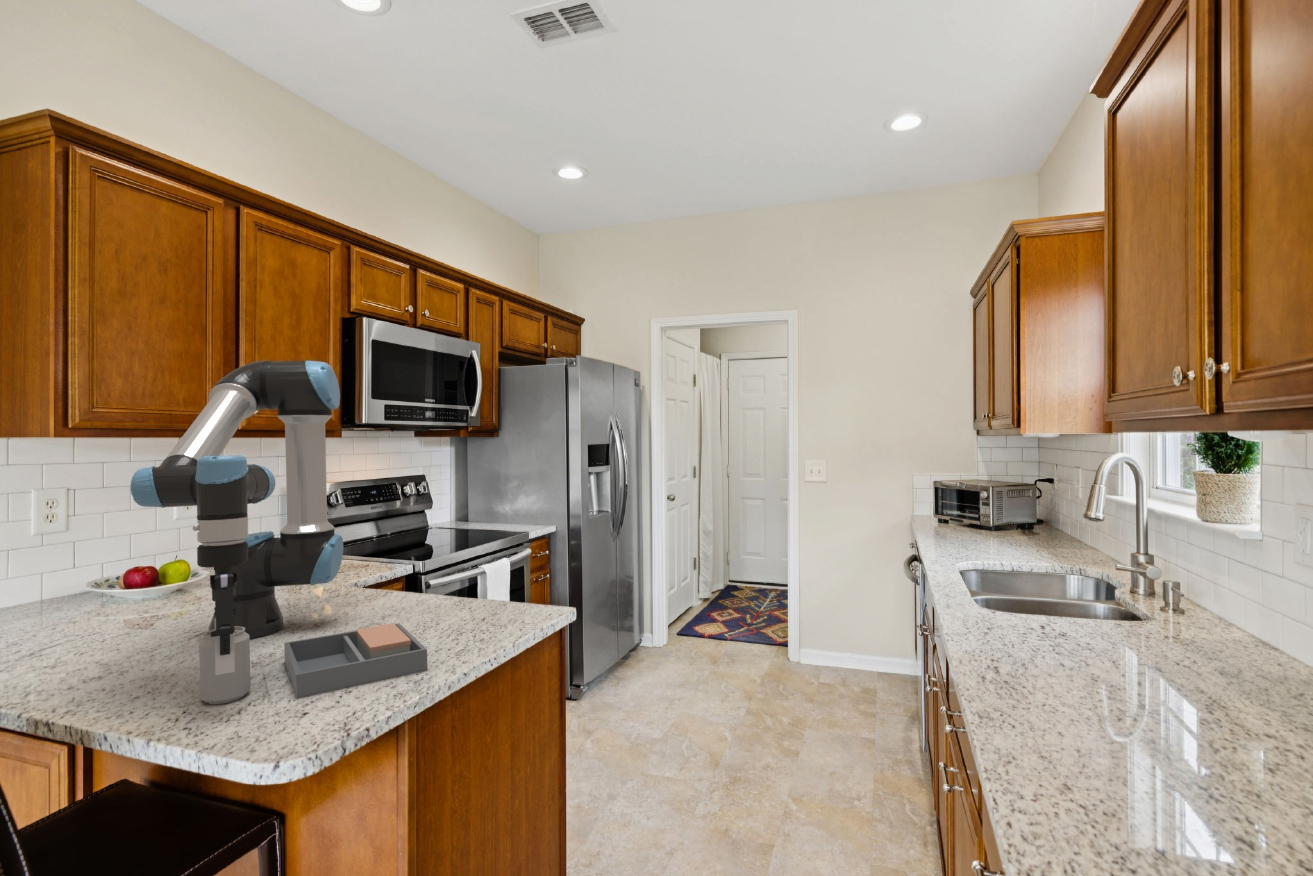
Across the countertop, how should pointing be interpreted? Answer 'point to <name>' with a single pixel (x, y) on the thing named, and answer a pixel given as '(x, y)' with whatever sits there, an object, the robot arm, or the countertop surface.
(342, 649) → the tray
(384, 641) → the two-tone square sponge
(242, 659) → the can
